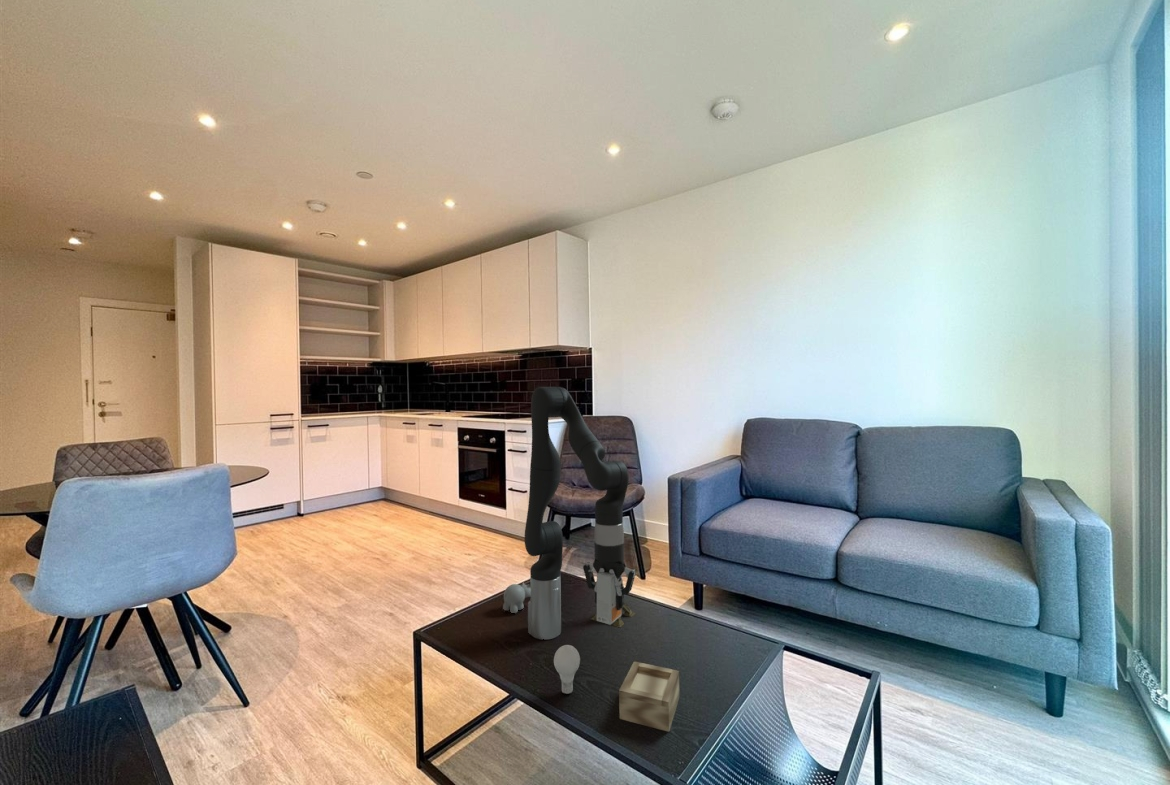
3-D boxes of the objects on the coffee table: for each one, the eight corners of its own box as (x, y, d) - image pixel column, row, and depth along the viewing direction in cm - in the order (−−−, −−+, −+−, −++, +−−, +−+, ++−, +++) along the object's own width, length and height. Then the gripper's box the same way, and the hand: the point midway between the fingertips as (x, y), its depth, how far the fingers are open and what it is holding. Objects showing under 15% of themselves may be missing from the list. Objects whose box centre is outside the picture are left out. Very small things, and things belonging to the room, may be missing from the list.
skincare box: (611, 625, 111) (610, 576, 111) (596, 621, 113) (595, 573, 113) (622, 615, 116) (622, 568, 116) (608, 611, 118) (607, 565, 118)
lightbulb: (553, 685, 112) (553, 640, 112) (579, 683, 112) (578, 639, 112) (554, 702, 105) (553, 654, 106) (581, 700, 106) (580, 653, 106)
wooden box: (619, 718, 100) (619, 690, 100) (634, 686, 111) (634, 661, 111) (669, 731, 95) (668, 702, 96) (679, 697, 106) (678, 670, 107)
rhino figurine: (539, 604, 157) (539, 579, 157) (513, 617, 148) (513, 591, 148) (525, 599, 162) (525, 575, 162) (499, 611, 152) (498, 585, 152)
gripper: (577, 541, 114) (577, 608, 114) (632, 547, 109) (632, 618, 108) (588, 532, 121) (588, 596, 121) (640, 538, 116) (640, 605, 115)
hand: (609, 606), depth 115 cm, fingers closed on skincare box, 4 cm apart
